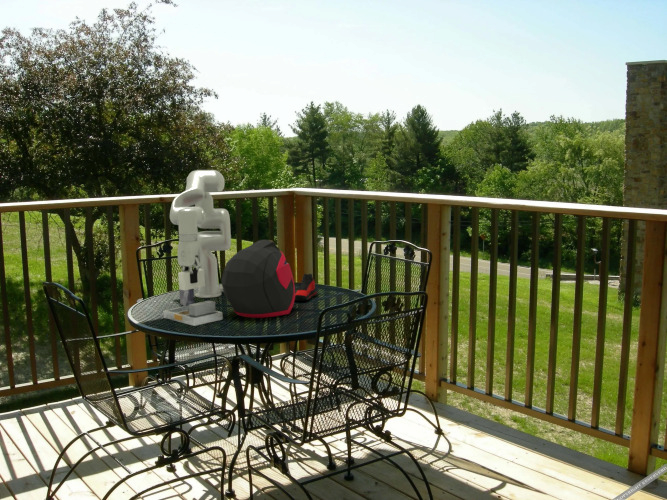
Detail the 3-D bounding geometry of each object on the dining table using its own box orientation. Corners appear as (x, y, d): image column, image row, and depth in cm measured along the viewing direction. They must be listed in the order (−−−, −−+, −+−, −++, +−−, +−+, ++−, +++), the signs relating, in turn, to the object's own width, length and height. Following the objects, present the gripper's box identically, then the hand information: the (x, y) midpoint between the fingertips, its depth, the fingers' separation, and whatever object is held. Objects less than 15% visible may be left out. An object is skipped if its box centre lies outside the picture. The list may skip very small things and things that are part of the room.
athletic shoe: (289, 303, 297) (289, 277, 296) (304, 294, 317) (303, 270, 315) (305, 303, 295) (304, 278, 294) (319, 294, 315) (318, 270, 313)
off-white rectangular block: (179, 289, 267) (178, 272, 266) (199, 284, 274) (198, 268, 273) (185, 290, 264) (183, 273, 263) (205, 285, 271) (203, 269, 270)
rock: (198, 305, 294) (196, 283, 293) (187, 307, 290) (186, 285, 289) (184, 302, 301) (183, 281, 300) (174, 305, 297) (173, 282, 296)
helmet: (311, 287, 288) (292, 230, 273) (275, 333, 266) (252, 274, 251) (263, 282, 302) (243, 228, 287) (225, 326, 280) (201, 269, 265)
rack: (163, 317, 272) (162, 300, 271) (191, 311, 282) (190, 294, 281) (193, 326, 257) (193, 307, 256) (222, 319, 268) (221, 301, 267)
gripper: (169, 237, 269) (171, 281, 271) (192, 240, 257) (194, 285, 260) (184, 236, 274) (186, 278, 276) (208, 238, 263) (210, 283, 265)
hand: (190, 281), depth 268 cm, fingers closed on off-white rectangular block, 4 cm apart
